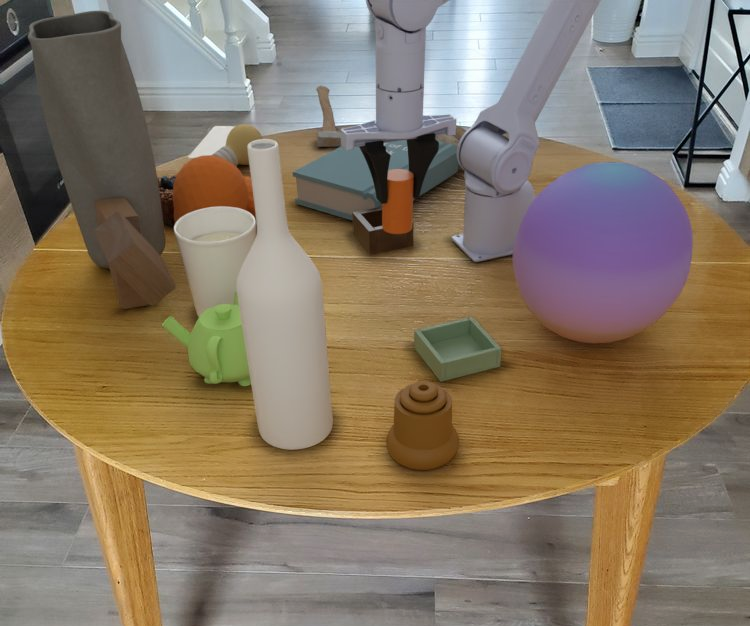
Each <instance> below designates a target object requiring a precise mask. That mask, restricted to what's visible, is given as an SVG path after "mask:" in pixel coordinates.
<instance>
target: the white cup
mask: <svg viewBox="0 0 750 626" xmlns="http://www.w3.org/2000/svg"><path fill="white" fill-rule="evenodd" d="M173 234H174V235H175V238H176V242H177V246H178V250H179V253H180V257H181V261H182V265H183V268H184V273H185V276H186V281H187V284H188V287H189V291H190V295H191V298H192V302H193V306H194V310H195V312H196V316H197V319H198V318H199V317H200V315H201V314H202V313H203V312H204V311H205V310H207V309H209V308H211V307H214V306H217V305H219V304H233V305H234V294H235V293H236V292H237V278H238V275H239V272H240V269H241V267H242V265H243V263H244V261H245V259H246V257H247V255H248V253H249V251H250V249H251V247H252V245H253V243H254V241H255V239H256V235H257V222H256V220H255V218H254V216H253V215H252V214H251V213H249V212H248V211H246V210H243V209H240V208H235V207H225V206H220V207H209V208H203V209H199V210H196V211H193V212H190V213H188V214H186V215H184V216H182V217H181V218H180V219H179V220H178V221H177V222H176V223H175V225H173Z"/></svg>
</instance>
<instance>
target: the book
mask: <svg viewBox="0 0 750 626" xmlns="http://www.w3.org/2000/svg"><path fill="white" fill-rule="evenodd" d="M438 142H439V150H438V152H437V154H436V155H435V157H434V159H433V160H432V162H431V164H430V166H429V168H428V170H427V173H426V175H425V178H424V181H423V184H422V188H421V192H420V196H419V198H420V197H422V196H423V195H425V194H426V193H427V192H430V191H431V190H432V189H434V188H435V187H438V186H439V185H441V184H442V183H443V182H445V181H447V180H448V179H450V178H452V176H454V175H455V174H456V173H458V172H459V170H458V161H457V148H456V146H455V145H454V144H450V143H449V144H448V145H447V144H446V143H445V142H441V141H438ZM384 146H386V151H387V152H388V153H389V154H390V155H391V157H390V162H389V168H388V170H392V169H403V170H408V171H409V160H408V148H407V140H401V141H394V142H387V143H384ZM292 177H293V178H295V182H296V183H295V184H296V193H297V197H296V198H295V199H294V204H296V205H299V206H303V207H306V208H309V209H312V210H315V211H319V212H322V213H326V214H329V215H333V216H336V217H339V218H342V219H346V220H349V221H352V222H353V216H352V212H357V211H362V210H367V209H373V208H378V207H382V204H381V203H380V202H379V201H378V199H377V198H376V192H375V187H374V183H373V179H372V176H371V173H370V170H369V167H368V165H367V162H366V160H365V158H364V156H363V153H362V151H361V149H360V147H354V149H353V150H346V149H344V148H343V146H338V147H337V148H335V149H333V150H332V151H329V152H328V153H326V154H324V155H322V156H320V157H318V158H316V159H314V160H313V161H311V162H308V163H306V164H305V165H302V166H301V167H298V168H297V169H295V170H293V171H292ZM415 200H418V198H416V199H414V198H413V202H414V201H415Z"/></svg>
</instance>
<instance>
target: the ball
mask: <svg viewBox="0 0 750 626" xmlns="http://www.w3.org/2000/svg"><path fill="white" fill-rule="evenodd" d="M693 237H694V234H693V229H692V224H691V219H690V217H689V214H688V212H687V210H686V207H685V206H684V204H683V203H682V201H681V200H680V198H679V197H678V195H677V194H676V192H675V191H674V189H673V188H672V187H671V186H670V184H668V183H667V182H666V181H665V180H664V179H662V178H660V177H659V176H657V174H655V173H653V172H652V171H650V170H648V169H646V168H644V167H640V166H638V165H635V164H631V163H627V162H620V161H600V162H593V163H587V164H584V165H582V166H578V167H576V168H574V169H571V170H568V171H566V172H564V173H563V174H561V175H560V176H558V177H557V178H556V179H554V180H553V181H552V182H550V183H548V185H546V186H545V187H544V188H543V189H542V190H540V192H538V194H537V195H536V196H535V199H534V200H533V202H532V203H531V204H530V206H529V208H528V210H527V211H526V213H525V215H524V217H523V220H522V222H521V224H520V227H519V230H518V233H517V235H516V238H515V243H514V248H513V254H512V267H513V273H514V278H515V282H516V286H517V290H518V292H519V295H520V298H521V300H522V301H523V304H524V305H525V306H526V308H527V310H529V312H530V313H531V314H532V315H533V316H534V317H535V318H536V319H537V320H538V321H539V323H540V324H542V326H544V327H545V328H547V329H548V330H549V331H552V332H553V333H555V334H556V335H558V336H559V337H562V338H565V339H568V340H572V341H574V342H579V343H586V344H609V343H614V342H619V341H623V340H626V339H629V338H632V337H633V336H636V335H637V334H639V333H641V332H643V331H645V330H647V329H649V328H650V327H651V326H653V325H654V324H656V322H658V321H659V320H660V319H662V317H664V315H665V314H666V312H667V311H669V309H670V308H671V307H672V306H673V304H674V303H675V302H676V301H677V299H678V298H679V297H680V295H681V293H682V291H683V289H684V288H685V286H686V284H687V281H688V278H689V275H690V272H691V266H692V259H693V248H694V247H693V246H694V243H693V242H694V240H693V239H694V238H693Z"/></svg>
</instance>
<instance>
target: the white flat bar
mask: <svg viewBox="0 0 750 626" xmlns="http://www.w3.org/2000/svg"><path fill="white" fill-rule="evenodd" d="M235 126H236V125H235ZM235 126H234V125H233V126H232V125H214V126H213V127H212V129H210V131H209V132H208V133H207V134H206V135H205V136H204V138H203V139H202V140H201V141H200V142H199V143H198V145H197V146H196V147H195V148H194V149H193V151H192V152H191V153H190V154H189V155H188V156H187V159H194V158H196V157H199V156H206V155H212V154H214V153H215V152H216V151H218V150H219V149H220V148H222V147H223V146H225V145H226V140H227V136H228V134H229V132H230V131H231V130H232V129H233V128H234V127H235Z"/></svg>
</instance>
